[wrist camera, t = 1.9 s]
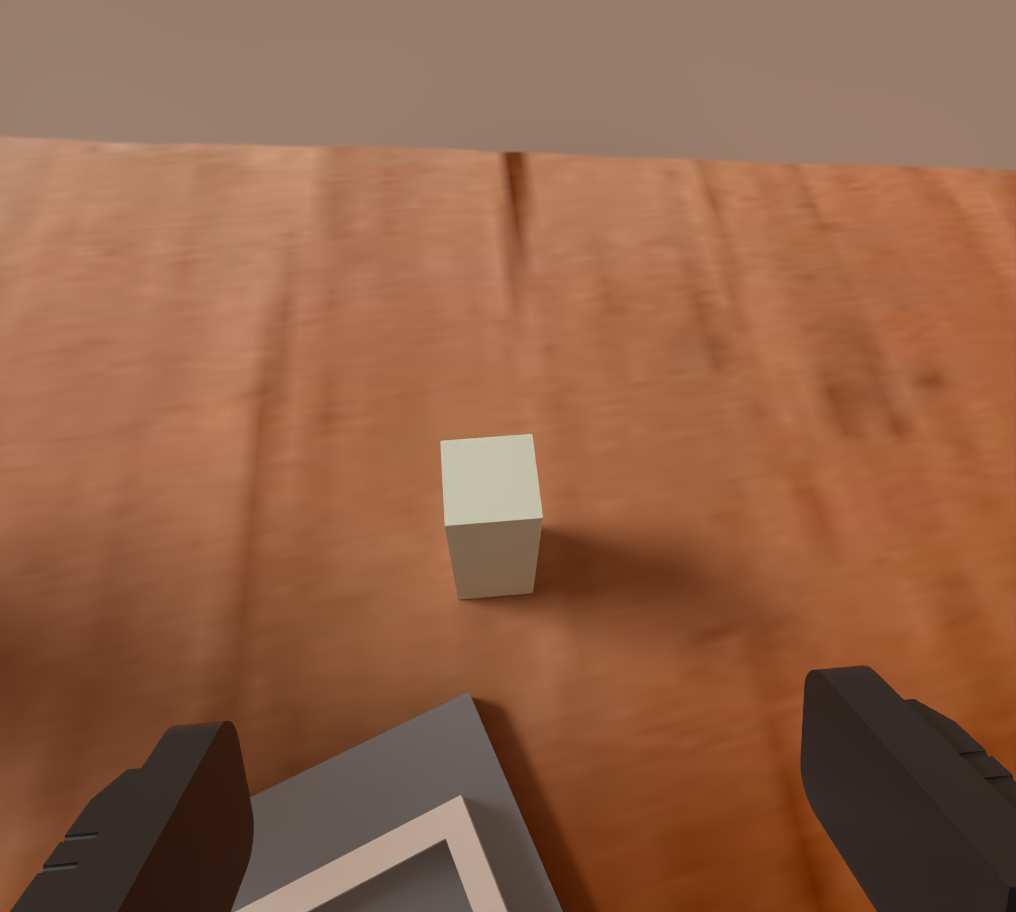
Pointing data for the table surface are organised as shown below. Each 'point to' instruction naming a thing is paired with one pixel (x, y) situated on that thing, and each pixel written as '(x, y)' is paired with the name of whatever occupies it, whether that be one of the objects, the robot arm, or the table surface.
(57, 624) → the table surface
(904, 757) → the robot arm
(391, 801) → the grey base with frame
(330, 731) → the table surface
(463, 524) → the sage block
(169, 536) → the table surface
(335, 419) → the table surface
